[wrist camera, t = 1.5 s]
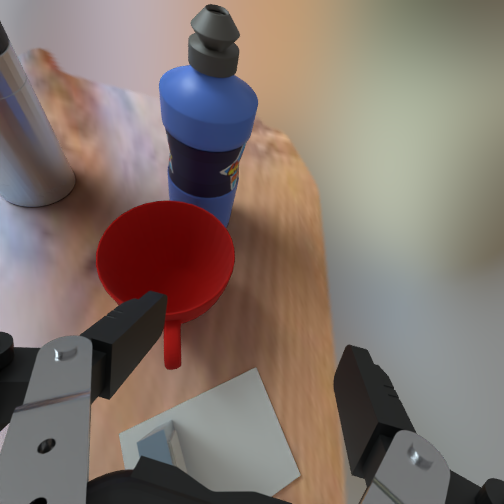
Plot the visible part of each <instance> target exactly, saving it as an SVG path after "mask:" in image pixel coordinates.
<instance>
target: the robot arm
mask: <svg viewBox="0 0 504 504" xmlns="http://www.w3.org/2000/svg"><path fill="white" fill-rule="evenodd" d="M74 185H75V175H74V173H73V171H72V168H71V166H70V164H69V162H68V160H67V158H66V156H65V154H64V152H63V150H62V147H61V145H60V143H59V141H58V139H57V137H56V135H55V133H54V131H53V129H52V127H51V125H50V123H49V121H48V119H47V116H46V114H45V112H44V110H43V108H42V106H41V104H40V102H39V100H38V98H37V96H36V94H35V92H34V90H33V88H32V85H31V83H30V81H29V79H28V77H27V75H26V73H25V71H24V69H23V67H22V65H21V63H20V61H19V59H18V57H17V55H16V53H15V51H14V49H13V47H12V45H11V42H10V40H9V39H8V36H7V34H6V32H5V30H4V28H3V26H2V24H1V22H0V195H1V196H2V197H3V198H4V199H5V200H6V201H8V202H10V203H12V204H16V205H19V206H26V207H37V206H44V205H48V204H51V203H54V202H56V201H59V200H61V199H62V198H64V197H65V196H67V195H68V194H69V193H70V192H71V190H72V189H73V187H74ZM167 299H168V298H167V295H165V294H161V293H158V292H154V291H148V292H147V293H146V294H145V295H143V296H142V297H141V298H140V299H136V298H134V299H131V300H128V301H126V302H123V303H122V304H120V305H119V306H118V307H116V308H115V309H114V311H113V310H112V311H111V312H110V313H108V314H107V316H104V317H103V318H102V319H100V320H99V321H98V322H97V323H95V324H94V325H93V326H91V327H90V328H89V329H87V330H86V331H85V332H83V333H82V334H81V335H79V336H65V337H60V338H57V339H54V340H52V341H50V342H48V343H47V344H45V345H44V346H43V347H42V348H22V347H14V344H13V338H12V336H11V335H10V334H8V333H5V332H0V431H1V430H2V429H3V428H4V427H6V426H7V425H8V424H9V423H10V424H9V428H8V431H7V434H6V437H5V440H4V444H3V447H2V450H1V453H0V504H292V503H289V502H286V501H283V500H280V499H276V498H273V497H270V496H267V495H264V494H261V493H258V492H255V491H224V492H216V491H211V490H209V489H208V488H206V487H205V486H203V485H202V484H201V483H199V482H198V481H196V480H195V479H194V478H192V477H191V476H189V475H188V474H187V473H185V472H184V471H182V470H181V469H180V468H178V467H176V466H173V465H170V464H167V463H164V462H160V461H157V460H154V459H151V458H148V457H145V456H142V455H141V457H140V459H139V460H138V462H137V464H136V466H135V468H134V469H127V470H120V471H115V472H112V473H108V474H105V475H102V476H100V477H97V478H95V479H93V480H91V481H89V451H90V422H91V404H92V403H93V402H94V401H95V400H96V398H97V397H98V396H99V397H102V398H105V399H109V400H110V399H111V397H112V396H113V395H114V394H115V392H116V391H117V390H118V389H119V387H120V386H121V385H122V384H123V382H124V381H125V380H126V379H127V378H128V376H129V375H130V374H131V373H132V371H133V370H134V369H135V368H136V366H137V365H138V364H139V363H140V361H141V360H142V359H143V358H144V356H145V355H146V354H147V353H148V351H149V350H150V349H151V348H152V346H153V345H154V344H155V343H156V341H157V340H158V339H159V337H160V336H161V334H162V331H163V328H164V324H165V316H166V308H167ZM334 393H335V397H336V402H337V407H338V412H339V417H340V421H341V426H342V431H343V436H344V441H345V445H346V450H347V455H348V460H349V465H350V470H351V474H352V475H354V476H357V477H360V478H363V479H365V481H366V485H367V488H366V490H365V492H364V494H363V496H362V498H361V500H360V502H359V504H504V481H502V480H499V479H494V478H491V479H488V480H487V481H486V482H485V484H484V485H483V486H482V488H481V487H479V486H478V485H476V484H474V483H472V482H471V481H469V480H467V479H465V478H464V477H462V476H460V475H458V474H456V473H455V472H453V471H451V470H450V469H449V467H448V465H447V462H446V461H445V459H444V457H443V456H442V455H441V453H440V452H439V451H438V450H437V449H436V448H435V447H434V446H433V445H432V444H431V443H430V442H429V441H427V440H426V439H424V438H423V437H422V436H420V435H418V434H417V433H416V431H415V429H414V427H413V425H412V423H411V421H410V419H409V417H408V416H407V413H406V411H405V409H404V407H403V405H402V403H401V401H400V400H399V397H398V395H397V393H396V391H395V390H394V387H393V385H392V383H391V381H390V379H389V376H387V374H386V373H385V372H384V371H383V370H382V369H381V368H380V366H378V365H375V364H374V363H373V361H372V358H371V356H370V354H369V352H368V350H366V349H363V348H360V347H355V346H352V345H347V346H346V348H345V350H344V352H343V355H342V358H341V360H340V362H339V365H338V367H337V370H336V372H335V376H334Z"/></svg>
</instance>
